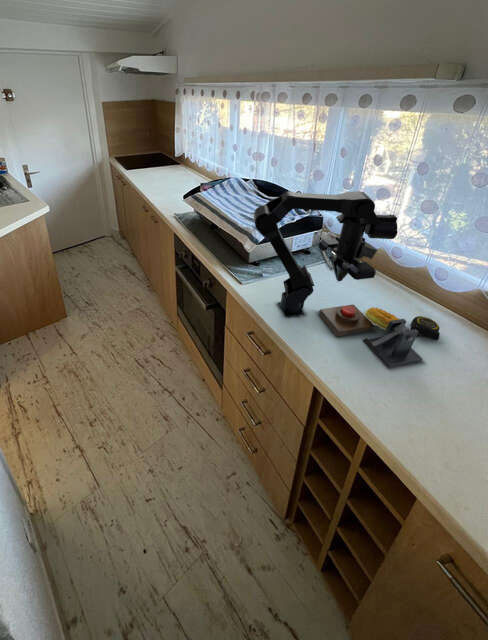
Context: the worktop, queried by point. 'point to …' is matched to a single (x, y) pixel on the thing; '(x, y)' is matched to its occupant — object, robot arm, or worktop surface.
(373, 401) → the worktop surface
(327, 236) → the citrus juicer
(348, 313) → the button
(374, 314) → the yellow donut
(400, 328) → the lever
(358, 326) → the button block
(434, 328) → the tape measure
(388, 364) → the bracket
